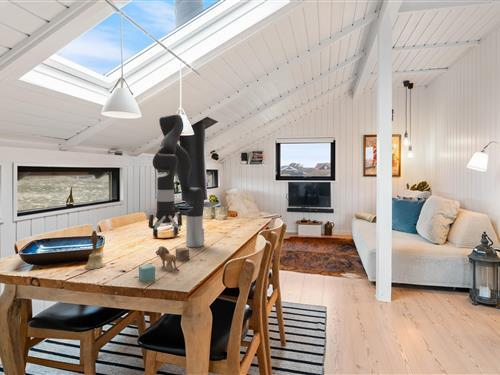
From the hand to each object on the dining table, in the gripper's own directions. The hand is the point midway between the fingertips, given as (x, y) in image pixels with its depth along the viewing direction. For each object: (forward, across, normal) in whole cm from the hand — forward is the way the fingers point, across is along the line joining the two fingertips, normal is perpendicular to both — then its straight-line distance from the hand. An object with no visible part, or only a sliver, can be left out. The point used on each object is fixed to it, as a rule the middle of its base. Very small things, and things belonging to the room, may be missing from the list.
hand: (165, 236), depth 137 cm
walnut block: (+14, -11, -9) cm, 20 cm away
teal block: (+14, +11, +9) cm, 20 cm away
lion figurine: (+14, 0, +1) cm, 14 cm away
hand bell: (+14, +26, -19) cm, 35 cm away
